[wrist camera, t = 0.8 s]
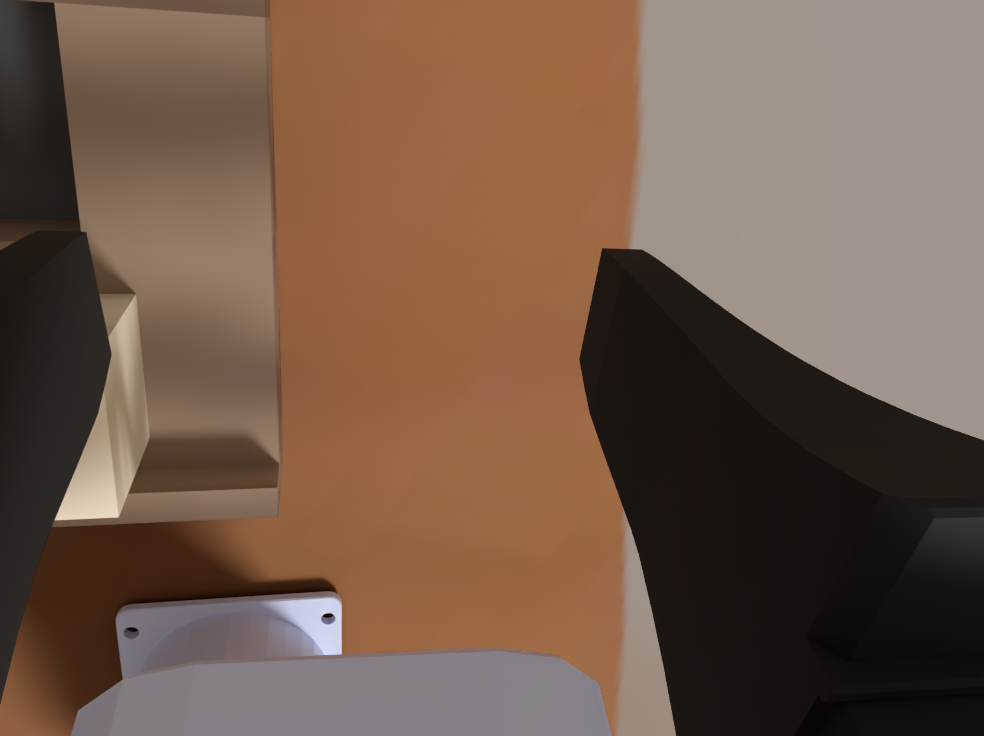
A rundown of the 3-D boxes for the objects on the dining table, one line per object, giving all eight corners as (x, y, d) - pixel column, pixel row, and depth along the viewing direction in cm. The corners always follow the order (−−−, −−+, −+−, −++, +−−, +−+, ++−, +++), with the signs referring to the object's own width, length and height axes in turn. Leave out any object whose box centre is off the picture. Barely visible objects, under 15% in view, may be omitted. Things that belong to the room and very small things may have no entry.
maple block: (149, 437, 25) (118, 517, 21) (-15, 442, 24) (-81, 526, 20) (136, 294, 24) (99, 351, 20) (-41, 292, 23) (-118, 353, 19)
